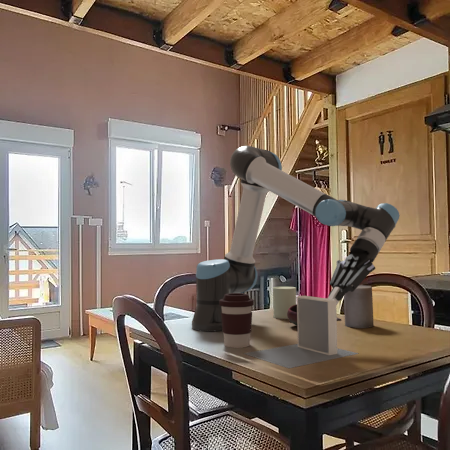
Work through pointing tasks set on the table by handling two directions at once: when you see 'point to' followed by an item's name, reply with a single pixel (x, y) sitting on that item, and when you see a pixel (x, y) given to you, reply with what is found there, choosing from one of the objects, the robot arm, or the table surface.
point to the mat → (295, 356)
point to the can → (283, 301)
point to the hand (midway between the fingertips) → (328, 307)
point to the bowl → (292, 314)
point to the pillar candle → (359, 307)
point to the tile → (317, 324)
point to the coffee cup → (236, 319)
